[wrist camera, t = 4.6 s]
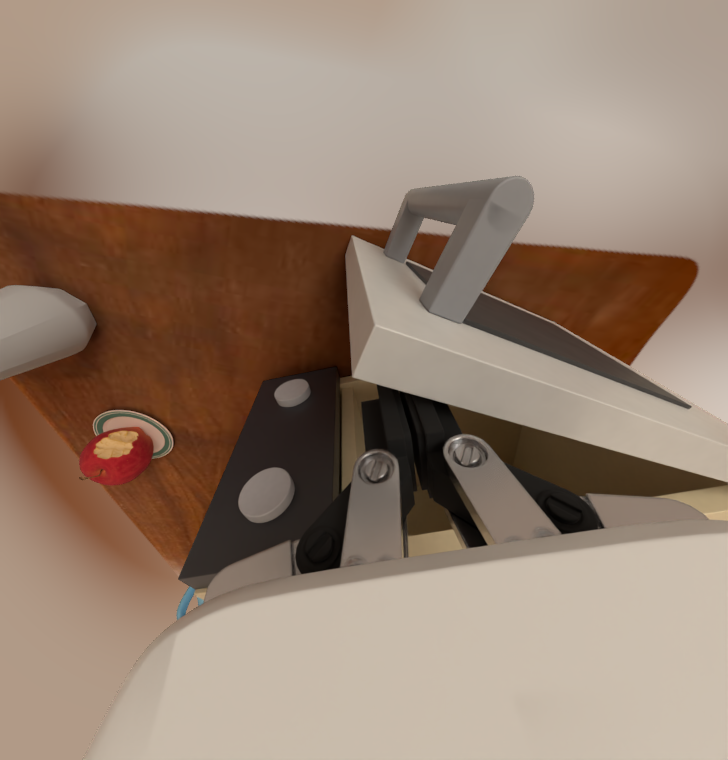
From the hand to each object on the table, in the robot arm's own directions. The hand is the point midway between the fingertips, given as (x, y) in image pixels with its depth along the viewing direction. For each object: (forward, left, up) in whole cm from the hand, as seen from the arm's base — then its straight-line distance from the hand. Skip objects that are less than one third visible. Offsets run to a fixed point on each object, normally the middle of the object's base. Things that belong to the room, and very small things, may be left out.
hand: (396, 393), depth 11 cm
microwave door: (-5, +8, -15) cm, 17 cm away
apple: (+24, -20, -15) cm, 35 cm away
